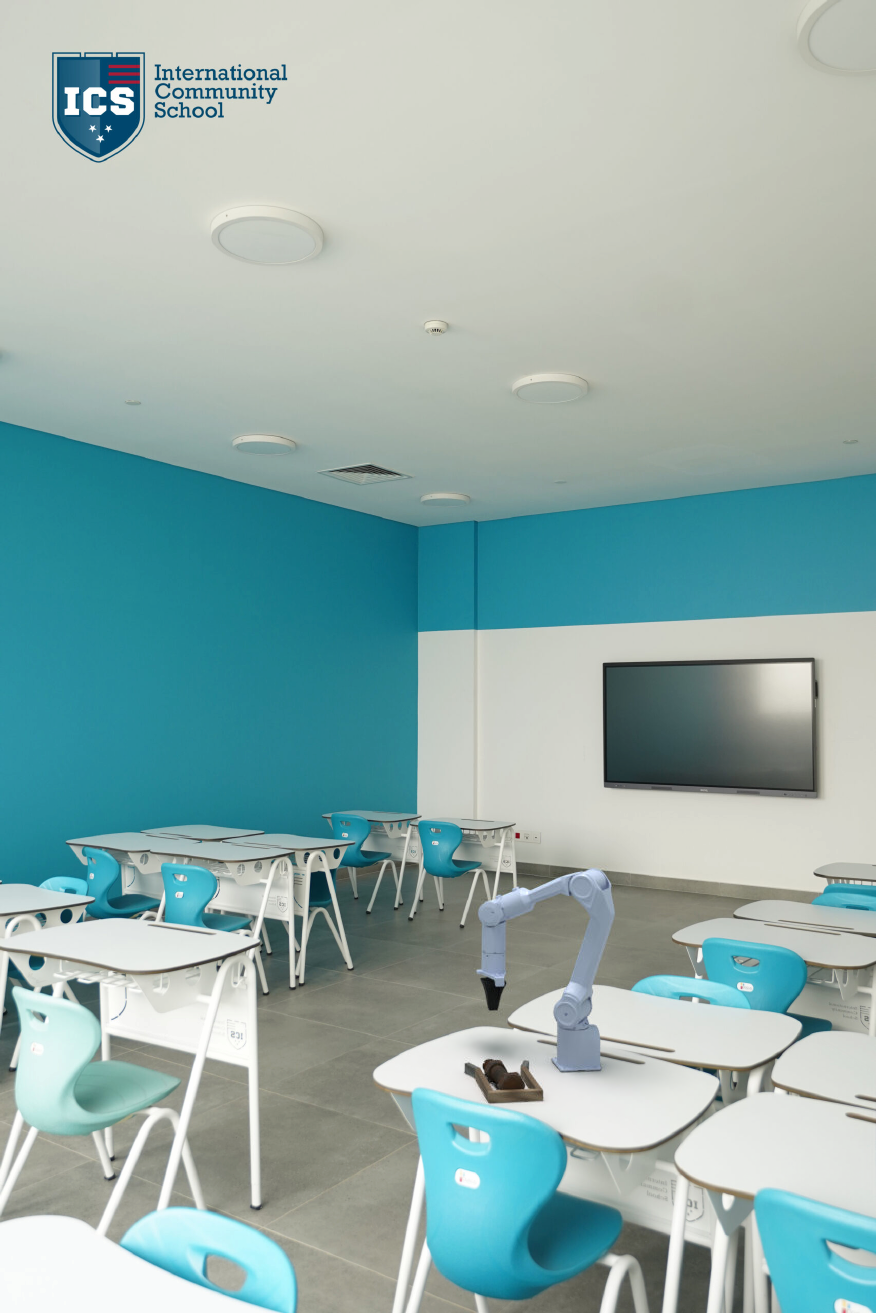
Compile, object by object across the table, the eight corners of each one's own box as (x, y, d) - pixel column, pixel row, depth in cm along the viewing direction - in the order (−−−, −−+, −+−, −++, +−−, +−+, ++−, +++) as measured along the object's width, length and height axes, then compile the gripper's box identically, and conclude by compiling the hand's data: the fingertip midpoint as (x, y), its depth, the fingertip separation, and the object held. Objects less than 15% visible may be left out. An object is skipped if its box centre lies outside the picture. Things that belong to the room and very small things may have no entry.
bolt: (491, 1082, 209) (516, 1106, 195) (473, 1072, 208) (496, 1095, 194) (504, 1057, 211) (529, 1079, 196) (485, 1047, 210) (509, 1068, 196)
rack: (528, 1069, 213) (528, 1059, 213) (550, 1100, 195) (551, 1089, 195) (464, 1071, 210) (464, 1062, 210) (480, 1103, 193) (481, 1093, 193)
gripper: (471, 944, 233) (470, 1001, 232) (483, 958, 219) (482, 1019, 218) (499, 944, 234) (498, 1000, 233) (513, 958, 220) (512, 1018, 219)
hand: (492, 1009), depth 225 cm, fingers closed
